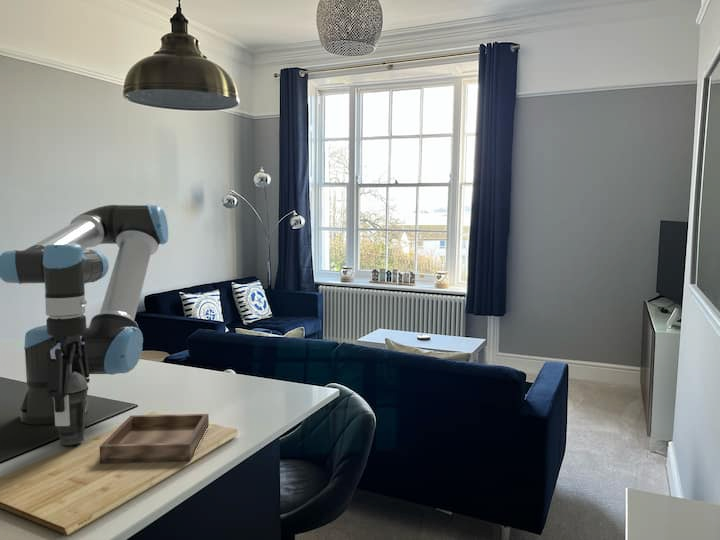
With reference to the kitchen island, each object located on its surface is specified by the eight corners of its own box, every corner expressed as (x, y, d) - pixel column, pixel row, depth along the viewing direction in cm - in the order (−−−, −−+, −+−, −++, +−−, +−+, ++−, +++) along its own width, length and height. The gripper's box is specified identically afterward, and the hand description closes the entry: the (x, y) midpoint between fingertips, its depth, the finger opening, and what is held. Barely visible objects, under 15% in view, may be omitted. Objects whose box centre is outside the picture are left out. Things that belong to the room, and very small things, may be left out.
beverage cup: (81, 432, 125) (77, 346, 123) (96, 440, 120) (92, 351, 119) (47, 441, 119) (43, 352, 118) (61, 450, 115) (57, 357, 113)
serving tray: (100, 463, 110) (99, 446, 110) (131, 430, 128) (130, 415, 128) (190, 460, 112) (190, 444, 111) (208, 428, 130) (208, 413, 129)
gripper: (62, 324, 108) (67, 436, 110) (102, 307, 128) (106, 403, 130) (22, 324, 107) (28, 437, 109) (69, 308, 127) (74, 403, 129)
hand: (71, 418), depth 119 cm, fingers closed on beverage cup, 7 cm apart
